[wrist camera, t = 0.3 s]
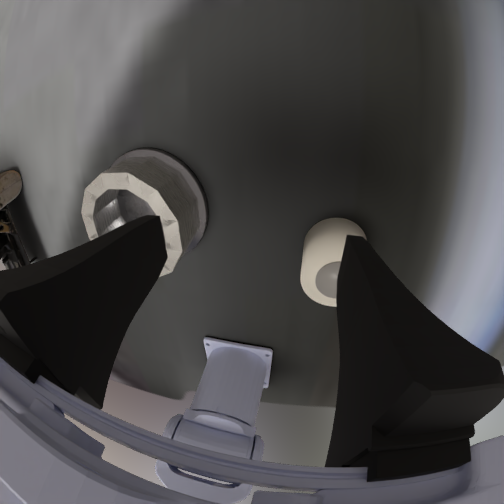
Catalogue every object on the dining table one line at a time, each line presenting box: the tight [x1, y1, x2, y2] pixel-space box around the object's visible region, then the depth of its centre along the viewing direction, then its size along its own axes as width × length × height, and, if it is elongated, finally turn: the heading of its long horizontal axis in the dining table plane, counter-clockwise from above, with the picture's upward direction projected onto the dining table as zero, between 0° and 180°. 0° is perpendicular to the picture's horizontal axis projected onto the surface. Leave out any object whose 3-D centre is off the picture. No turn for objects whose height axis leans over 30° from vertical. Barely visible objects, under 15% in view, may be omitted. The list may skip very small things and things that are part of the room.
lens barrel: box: [81, 148, 208, 277], centre depth 20 cm, size 10×10×4 cm
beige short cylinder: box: [300, 218, 367, 307], centre depth 19 cm, size 5×5×4 cm
